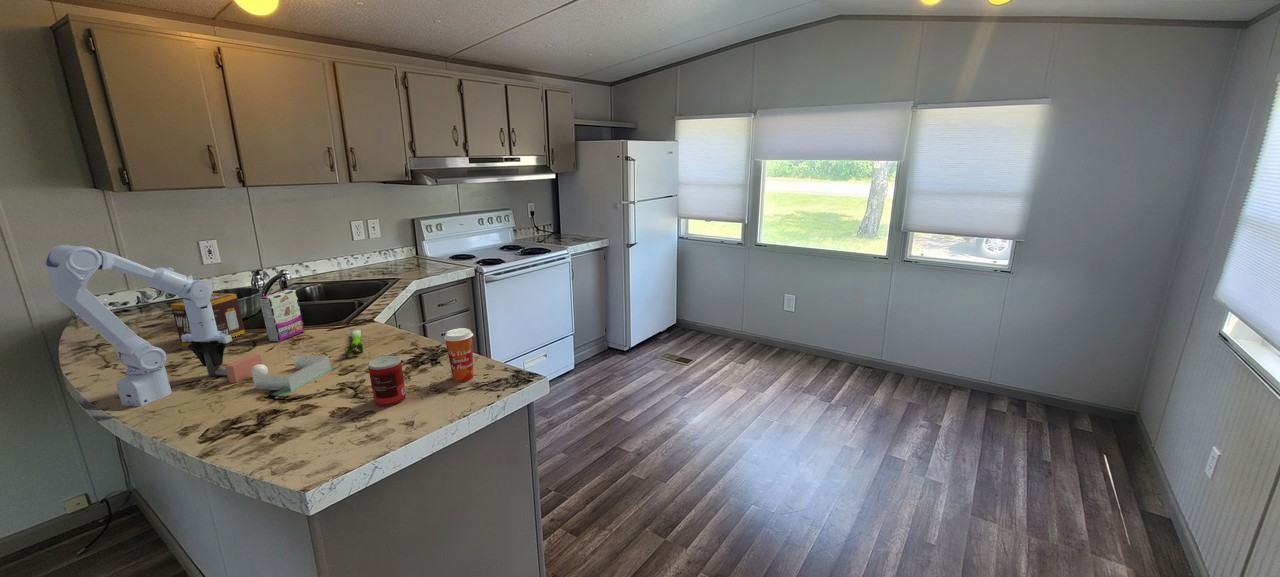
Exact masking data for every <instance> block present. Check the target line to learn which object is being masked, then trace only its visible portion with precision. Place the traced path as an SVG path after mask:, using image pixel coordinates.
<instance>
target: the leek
mask: <svg viewBox="0 0 1280 577" xmlns="http://www.w3.org/2000/svg"><path fill="white" fill-rule="evenodd" d="M349 336H350V337H351V338H352V342H349V344H350V346H348V347H346V349H345V352H344V354H345V355H344V357H343V358H345V357H347V359H349V358H350V354H351V353H352V352H353V351H354V349H355V347H356V350H358V351H359V352H360V354H361V353H364V348H363V347H364V345H363V343H362V342H361V341H362V331H361V329H354V330H352V331H351V332H350V333H349Z"/></svg>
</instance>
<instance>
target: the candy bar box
mask: <svg viewBox="0 0 1280 577" xmlns="http://www.w3.org/2000/svg"><path fill="white" fill-rule="evenodd" d="M259 300H260V305H261V309H260V310H261V312H262V313H261V314H262V316H263V320H264V324H265V329H266V333H267V338H268V341H269V342H271V341H277V342H278V343H279V342H280V341H281V342H283V341H286V340H288V339H290V337H291V338H293V337H295V336H294V335H296V336H298V335H300V334H302V333H301V332H303V333H305V332H304V331H306V330H305V326H304V321H303V317H302V312H301V307H300V304H299V303H300V302H299V299H298V293H297V290H295V289H284V290H281V291H277V292H274V293H271V294H267V295H264V296H262V297H261V298H259ZM299 333H300V334H299ZM297 334H298V335H297ZM292 336H293V337H292ZM285 339H286V340H285ZM281 342H280V343H281Z"/></svg>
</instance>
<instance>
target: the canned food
mask: <svg viewBox="0 0 1280 577" xmlns="http://www.w3.org/2000/svg"><path fill="white" fill-rule="evenodd" d="M367 366H368V374H369V379H370V385H371V390H372V391H371V392H372V396H373V402H374V403H375V405H376V406H379V407H390V406H391V405H392V406H394V405H398V404H400V403H402V402H403V401H404V400H405V399H406V395H407V393H406V386H405V379H404V378H405V377H404V373H403V365H402V360H401V357H400V356H398V355H397V356H396V355H385V356H380V357H376V358H374V359H372V360H370V361H369V362H368V363H367ZM397 403H398V404H397Z"/></svg>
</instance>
